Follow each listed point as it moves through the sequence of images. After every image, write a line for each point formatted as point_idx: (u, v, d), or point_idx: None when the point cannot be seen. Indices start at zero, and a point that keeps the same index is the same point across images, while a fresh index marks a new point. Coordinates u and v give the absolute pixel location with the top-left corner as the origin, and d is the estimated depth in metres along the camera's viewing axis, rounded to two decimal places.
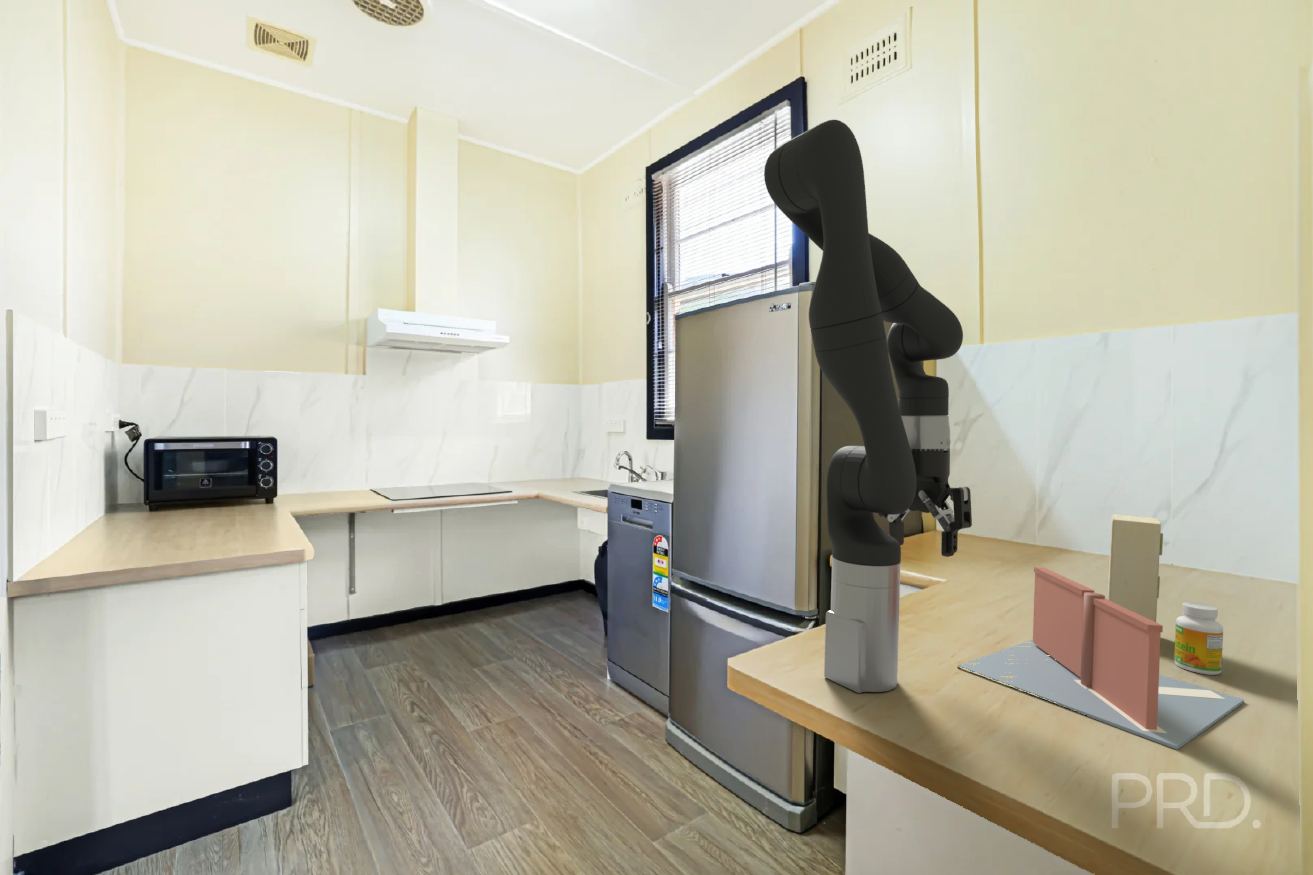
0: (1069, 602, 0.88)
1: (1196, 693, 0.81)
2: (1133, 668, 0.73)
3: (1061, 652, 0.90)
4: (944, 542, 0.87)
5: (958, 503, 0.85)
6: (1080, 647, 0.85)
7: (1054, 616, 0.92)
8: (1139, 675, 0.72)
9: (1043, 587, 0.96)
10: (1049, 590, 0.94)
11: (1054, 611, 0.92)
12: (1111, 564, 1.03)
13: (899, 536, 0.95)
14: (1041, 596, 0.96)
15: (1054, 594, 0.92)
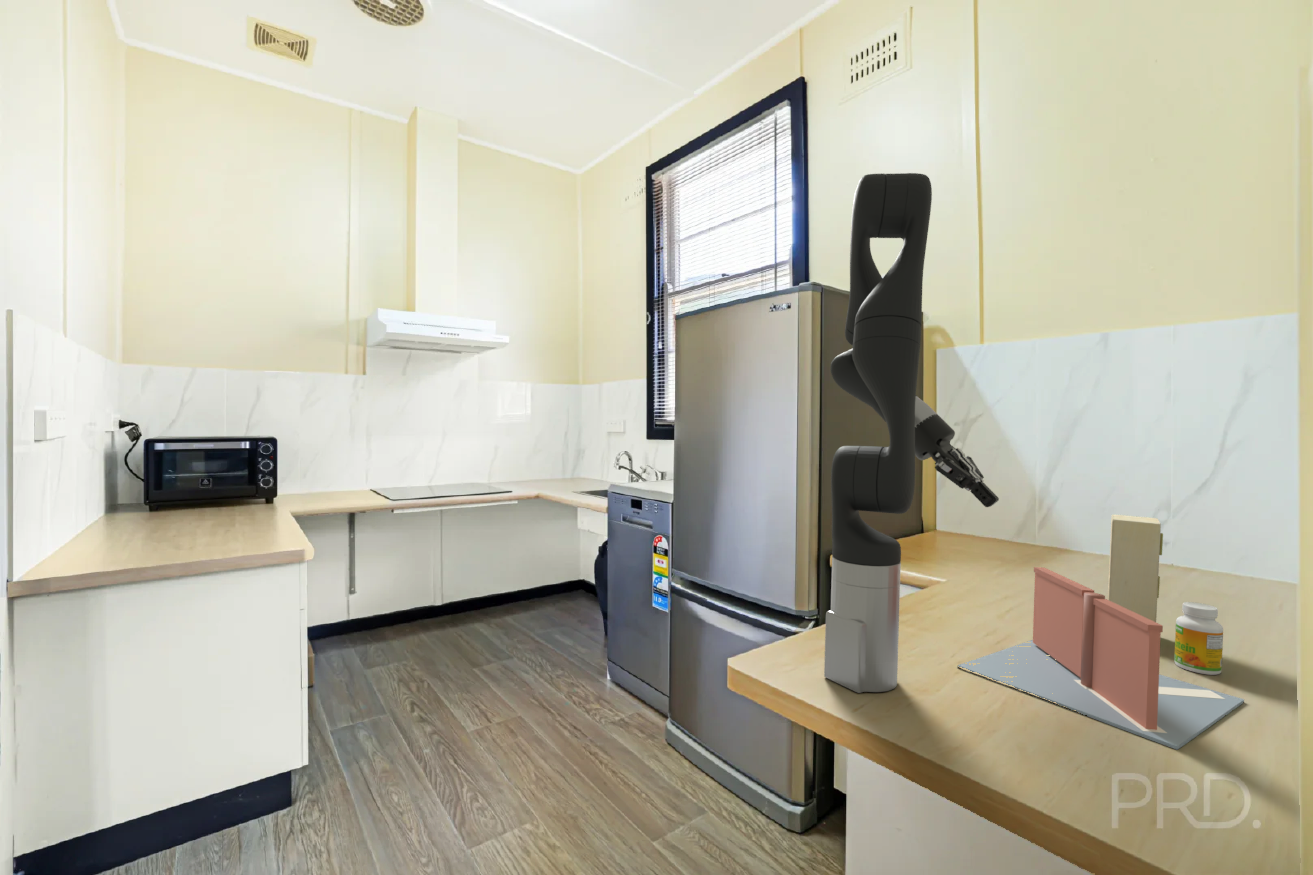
0: (1069, 602, 0.88)
1: (1196, 693, 0.81)
2: (1133, 668, 0.73)
3: (1061, 652, 0.90)
4: None
5: (974, 464, 1.04)
6: (1080, 647, 0.85)
7: (1054, 616, 0.92)
8: (1139, 675, 0.72)
9: (1043, 587, 0.96)
10: (1049, 590, 0.94)
11: (1054, 611, 0.92)
12: (1111, 564, 1.03)
13: None
14: (1041, 596, 0.96)
15: (1054, 594, 0.92)
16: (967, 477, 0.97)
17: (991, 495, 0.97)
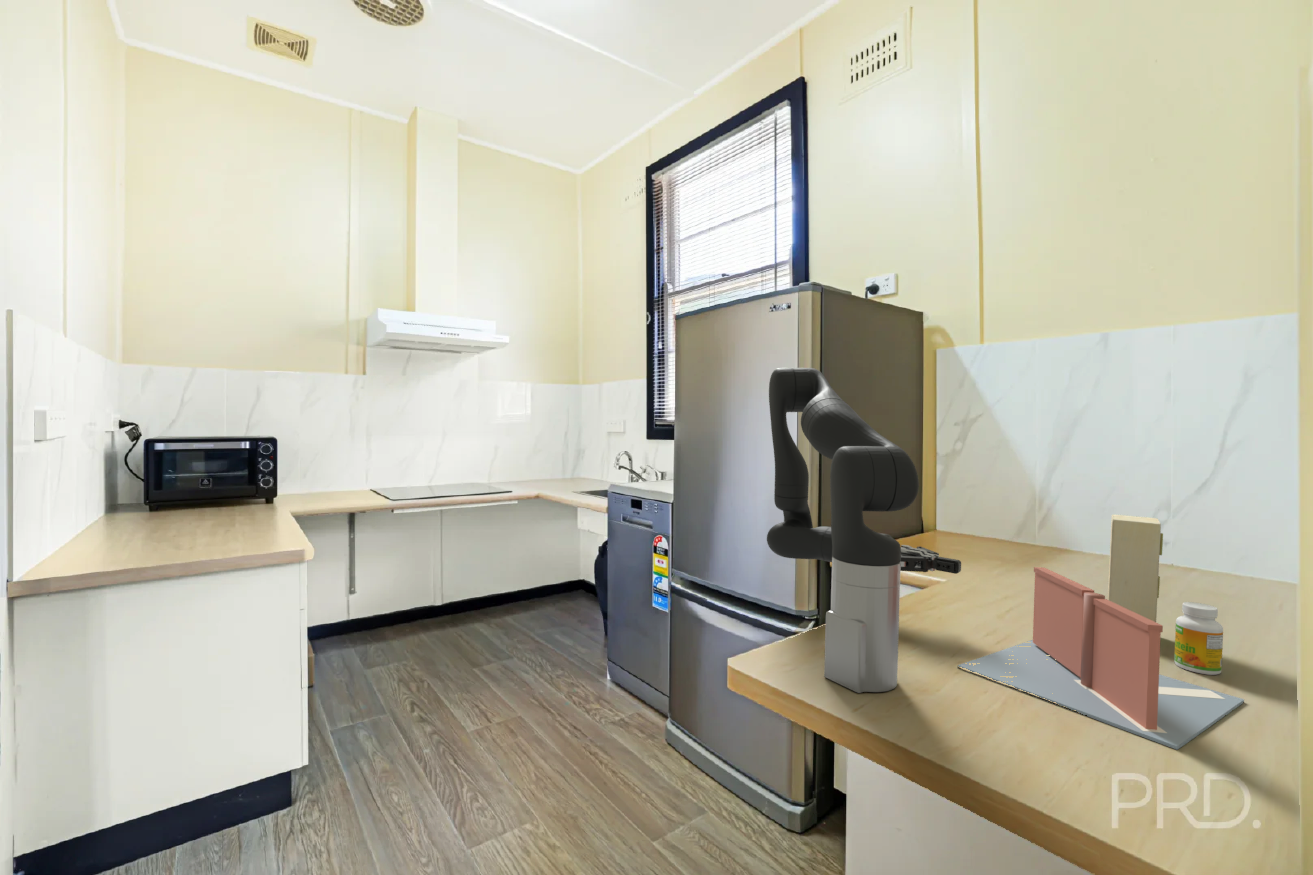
0: (1069, 602, 0.88)
1: (1196, 693, 0.81)
2: (1133, 668, 0.73)
3: (1061, 652, 0.90)
4: None
5: (925, 549, 1.12)
6: (1080, 647, 0.85)
7: (1054, 616, 0.92)
8: (1139, 675, 0.72)
9: (1043, 587, 0.96)
10: (1049, 590, 0.94)
11: (1054, 611, 0.92)
12: (1111, 564, 1.03)
13: None
14: (1041, 596, 0.96)
15: (1054, 594, 0.92)
16: (922, 560, 1.05)
17: (951, 561, 1.04)
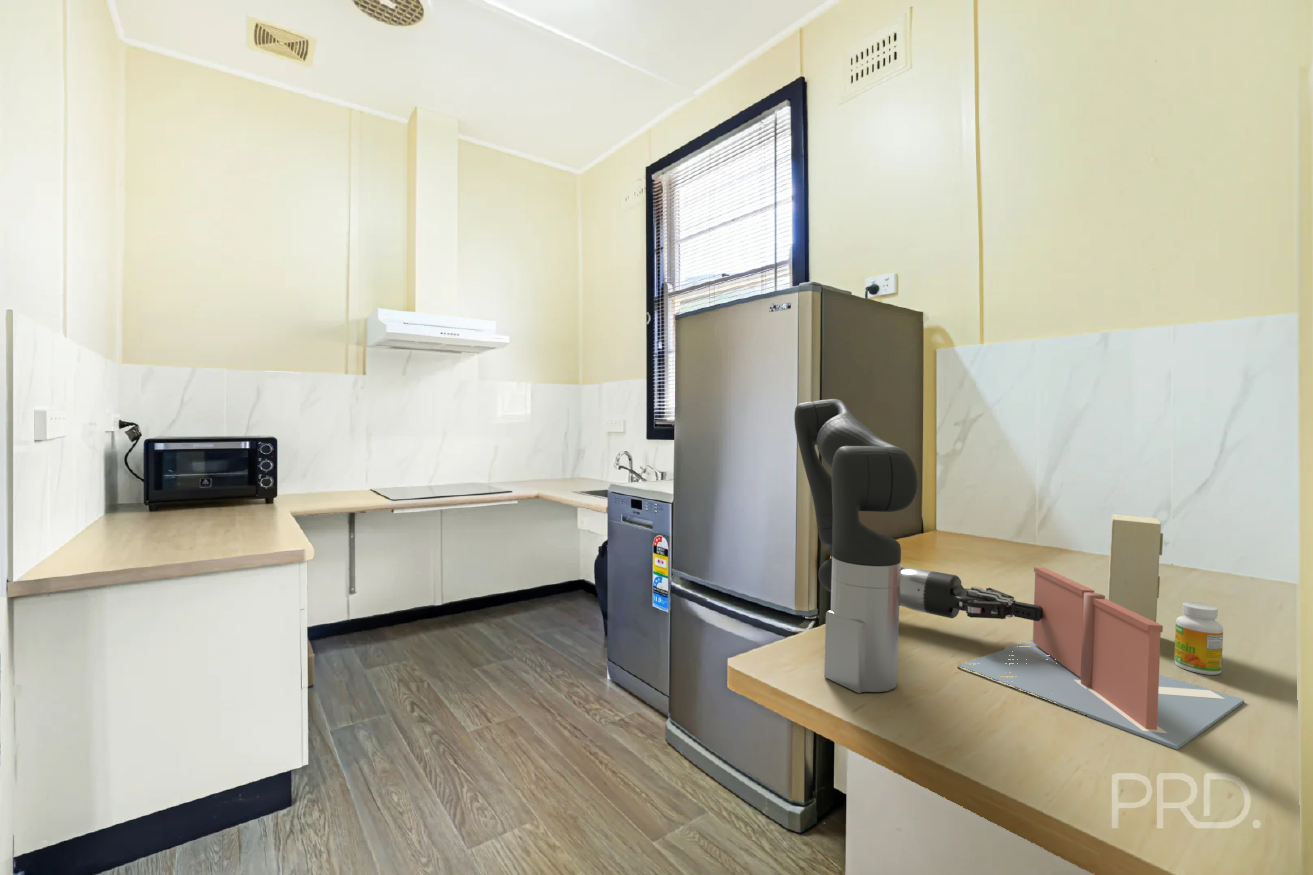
0: (1069, 602, 0.88)
1: (1196, 693, 0.81)
2: (1133, 668, 0.73)
3: (1061, 652, 0.90)
4: None
5: (996, 591, 1.04)
6: (1080, 647, 0.85)
7: (1054, 616, 0.92)
8: (1139, 675, 0.72)
9: (1043, 587, 0.96)
10: (1049, 590, 0.94)
11: (1054, 611, 0.92)
12: (1111, 564, 1.03)
13: None
14: (1041, 596, 0.96)
15: (1054, 594, 0.92)
16: (999, 606, 0.96)
17: (1032, 607, 0.96)
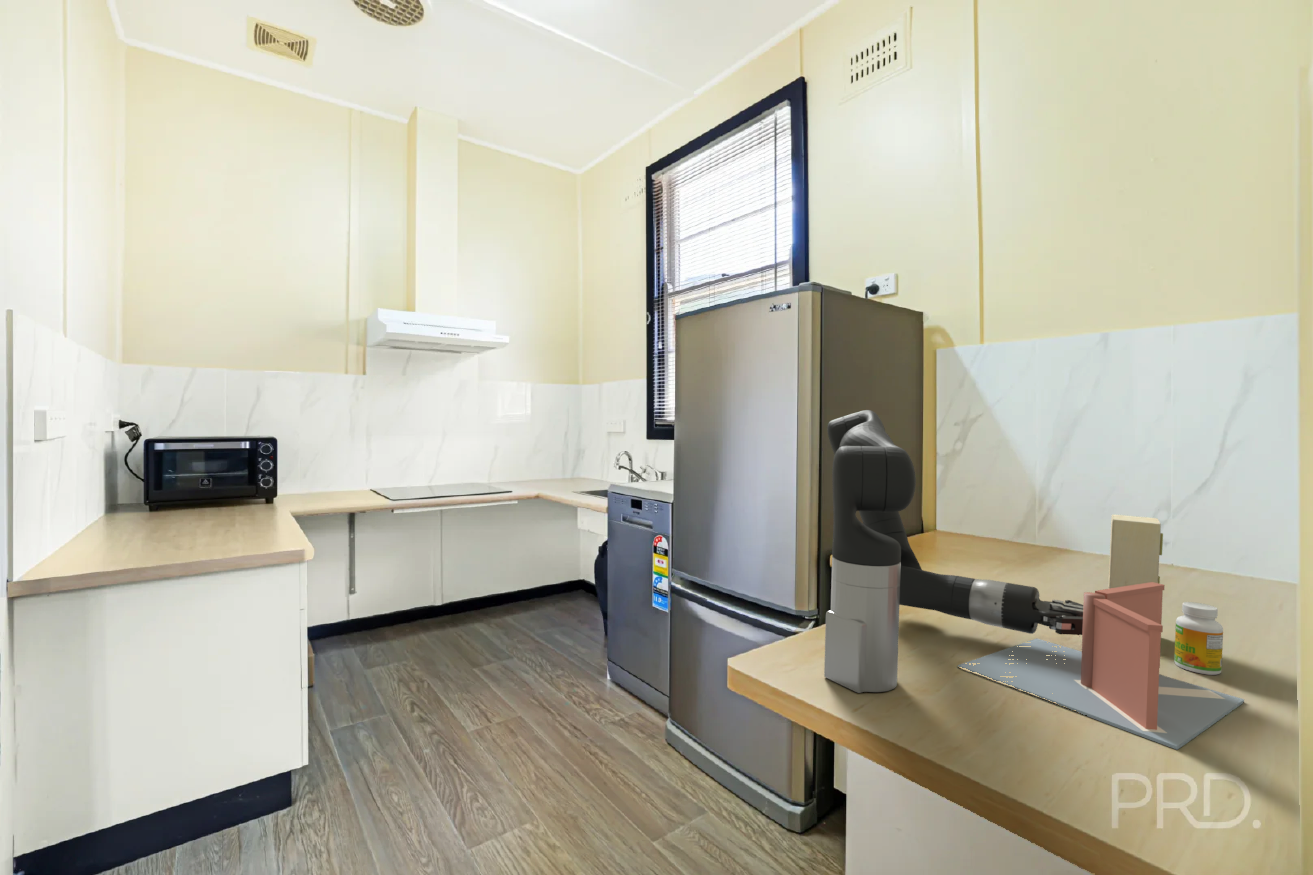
0: None
1: (1196, 693, 0.81)
2: (1133, 668, 0.73)
3: None
4: None
5: (1078, 604, 0.97)
6: None
7: None
8: (1139, 675, 0.72)
9: None
10: None
11: None
12: (1111, 564, 1.03)
13: None
14: None
15: None
16: None
17: None
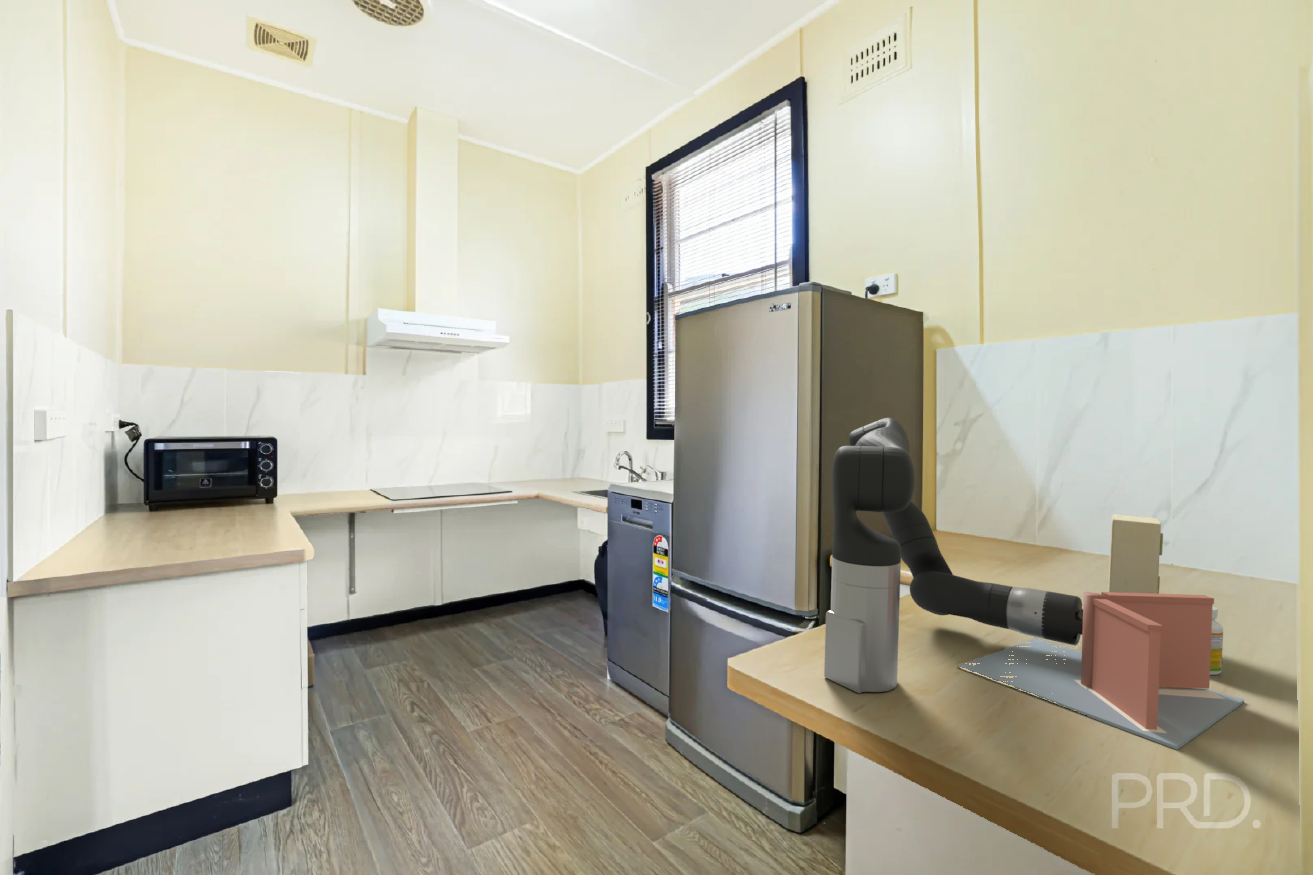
0: None
1: (1196, 693, 0.81)
2: (1133, 668, 0.73)
3: None
4: None
5: None
6: None
7: None
8: (1139, 675, 0.72)
9: None
10: None
11: None
12: (1111, 564, 1.03)
13: None
14: None
15: None
16: None
17: None
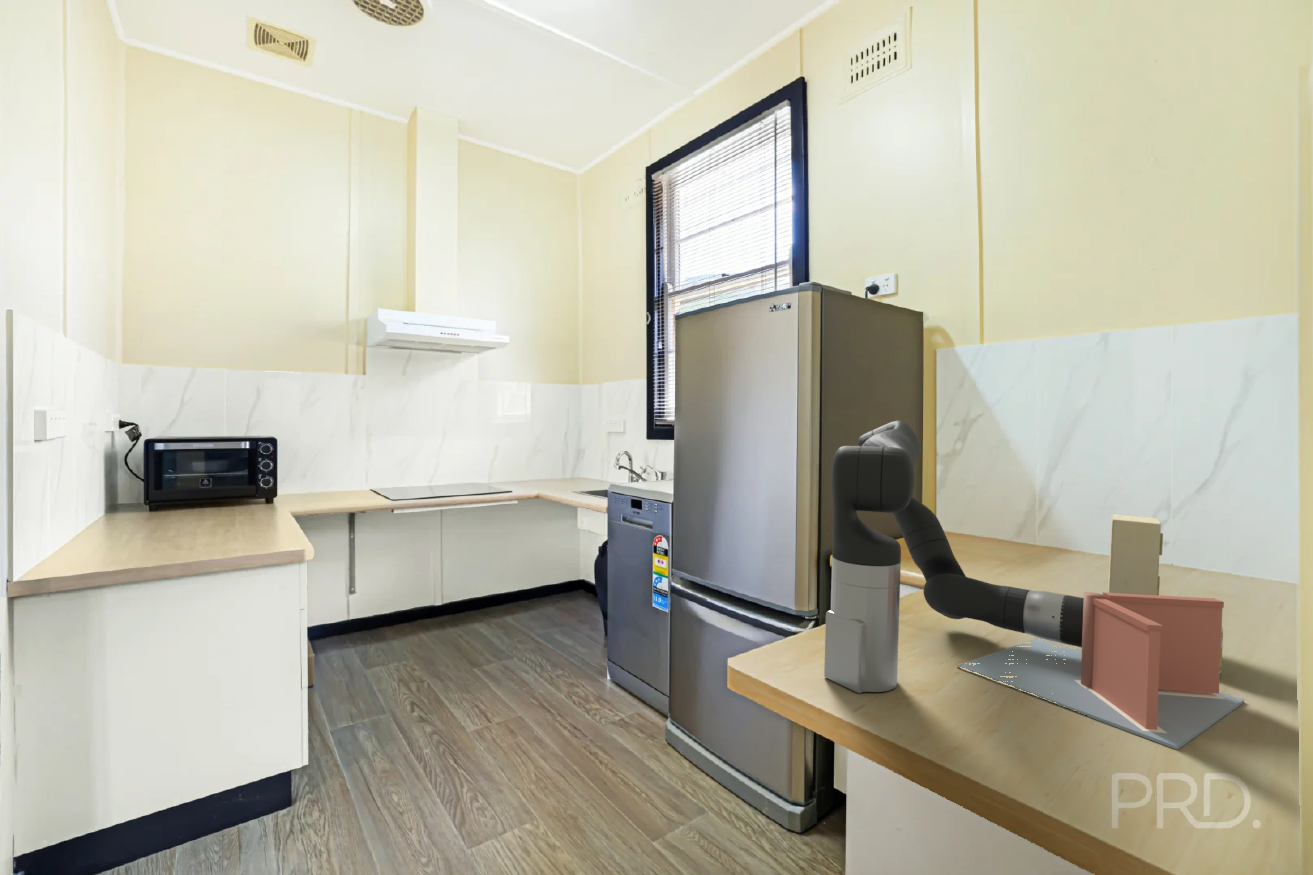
0: None
1: (1196, 693, 0.81)
2: (1133, 668, 0.73)
3: None
4: None
5: None
6: None
7: None
8: (1139, 675, 0.72)
9: None
10: None
11: None
12: (1111, 564, 1.03)
13: None
14: None
15: None
16: None
17: None
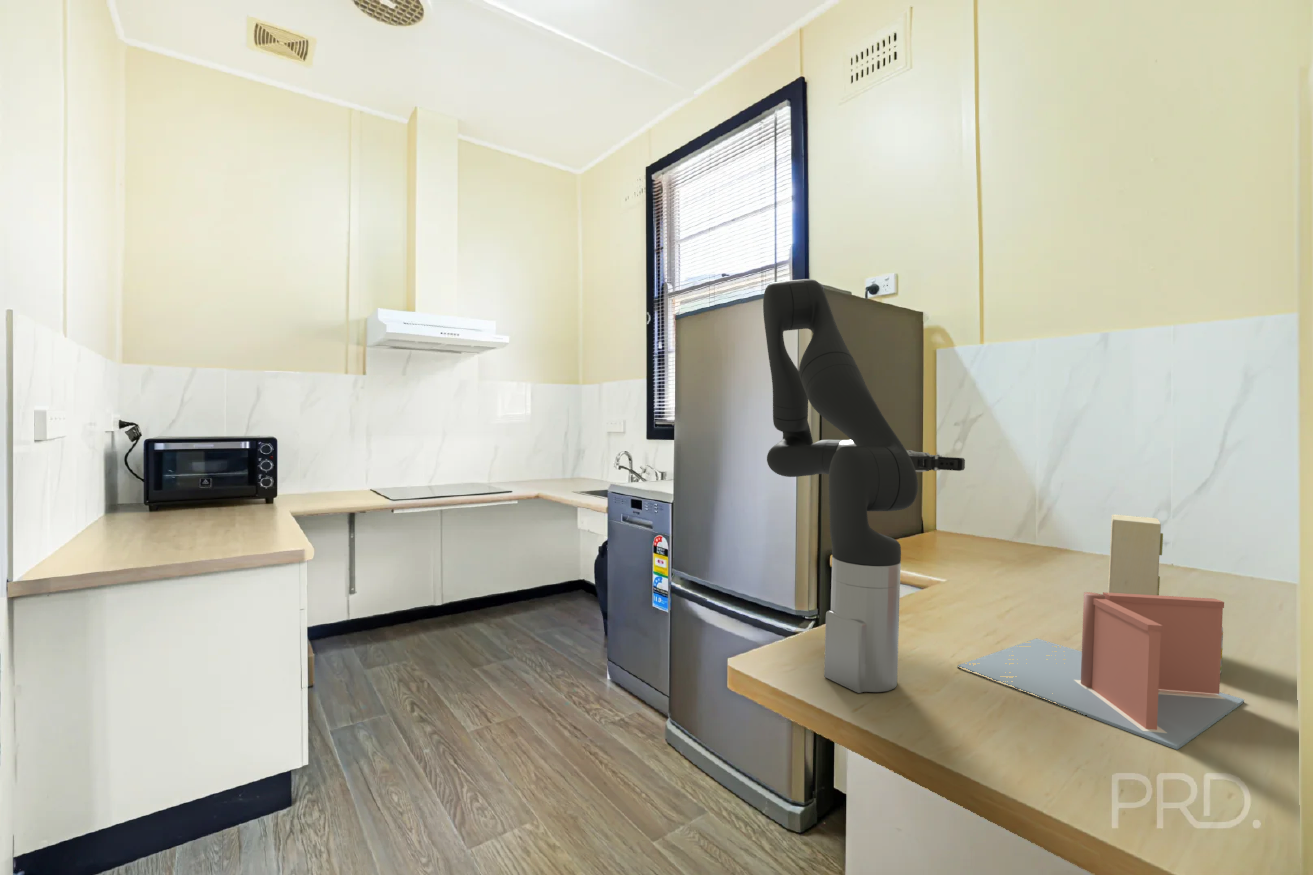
0: None
1: (1196, 693, 0.81)
2: (1133, 668, 0.73)
3: None
4: None
5: None
6: None
7: None
8: (1139, 675, 0.72)
9: None
10: None
11: None
12: (1111, 564, 1.03)
13: None
14: None
15: None
16: (925, 458, 1.03)
17: (955, 458, 1.02)
